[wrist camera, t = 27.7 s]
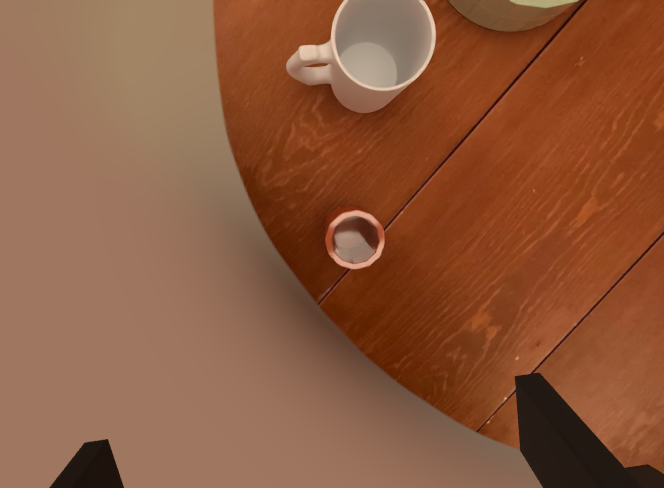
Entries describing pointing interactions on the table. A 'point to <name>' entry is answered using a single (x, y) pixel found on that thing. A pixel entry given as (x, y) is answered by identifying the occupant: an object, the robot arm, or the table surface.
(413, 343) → the table surface
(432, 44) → the mug
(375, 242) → the crock
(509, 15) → the bowl
